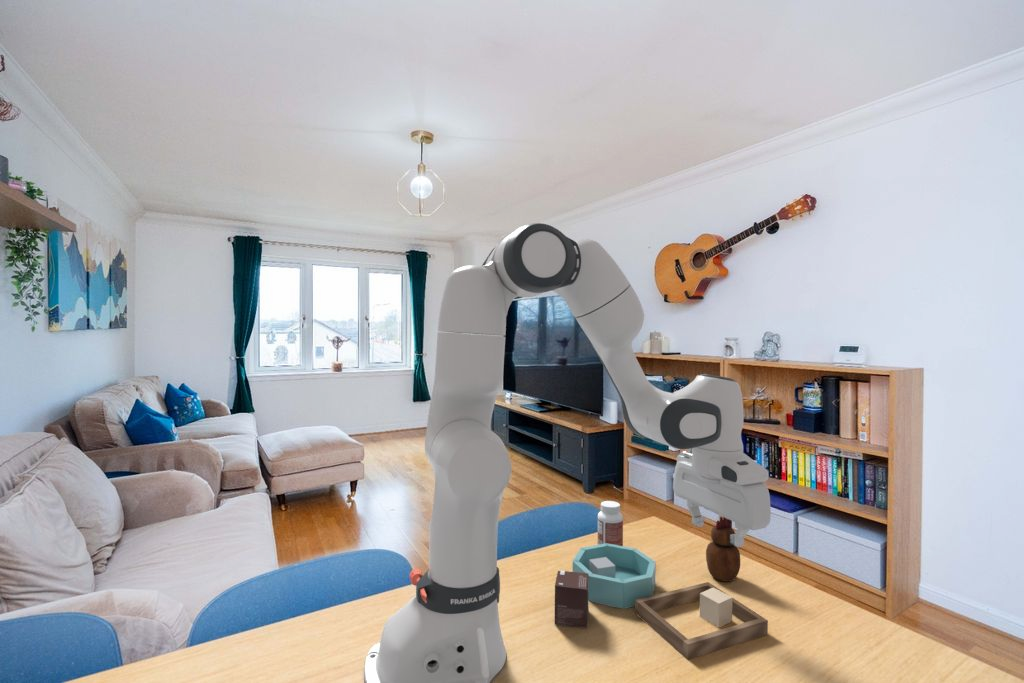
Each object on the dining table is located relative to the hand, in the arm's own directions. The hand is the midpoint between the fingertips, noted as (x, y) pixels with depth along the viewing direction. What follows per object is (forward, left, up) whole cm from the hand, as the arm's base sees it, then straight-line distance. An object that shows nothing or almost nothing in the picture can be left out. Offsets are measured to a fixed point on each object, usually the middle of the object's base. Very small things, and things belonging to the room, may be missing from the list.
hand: (716, 534), depth 89 cm
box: (-25, +10, -16) cm, 31 cm away
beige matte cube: (0, 0, -16) cm, 16 cm away
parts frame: (-4, 0, -16) cm, 16 cm away
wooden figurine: (+13, +11, -16) cm, 23 cm away
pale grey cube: (-14, +17, -15) cm, 26 cm away
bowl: (-11, +17, -16) cm, 25 cm away
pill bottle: (-2, +32, -16) cm, 36 cm away
